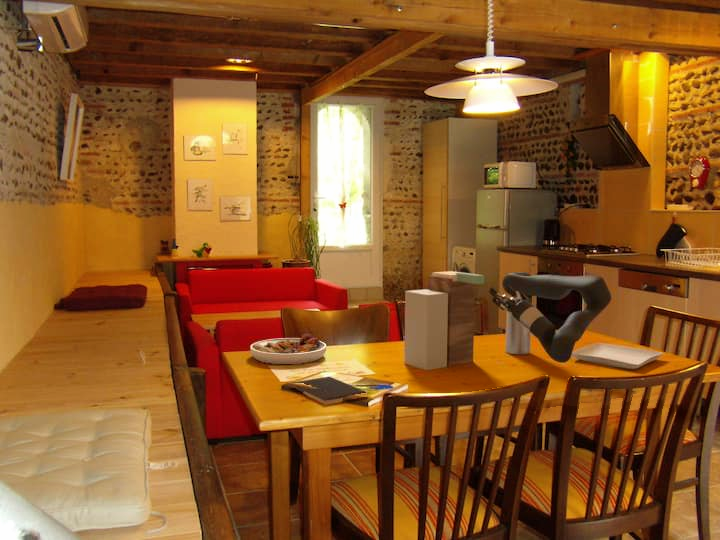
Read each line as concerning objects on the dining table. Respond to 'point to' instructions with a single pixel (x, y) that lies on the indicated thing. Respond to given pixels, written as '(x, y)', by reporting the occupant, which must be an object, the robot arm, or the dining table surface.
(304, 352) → the bowl
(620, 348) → the square plate
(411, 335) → the tall grey pillar
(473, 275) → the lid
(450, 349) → the wood grain pillar
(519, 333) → the robot arm
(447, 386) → the dining table surface
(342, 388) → the hardcover book
